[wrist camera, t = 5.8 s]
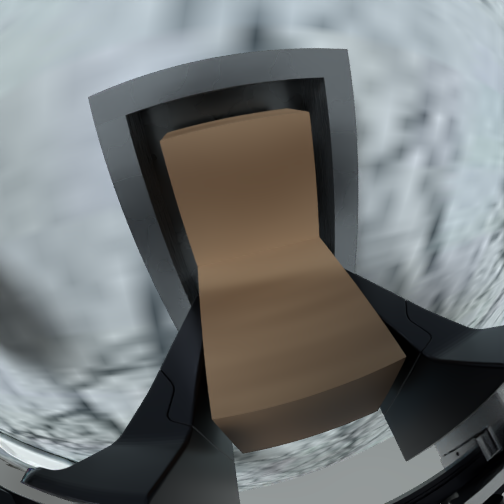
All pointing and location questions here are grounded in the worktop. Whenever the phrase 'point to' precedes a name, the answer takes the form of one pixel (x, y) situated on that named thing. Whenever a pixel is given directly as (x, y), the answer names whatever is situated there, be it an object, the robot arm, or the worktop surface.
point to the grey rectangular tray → (215, 108)
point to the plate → (32, 454)
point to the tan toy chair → (273, 285)
